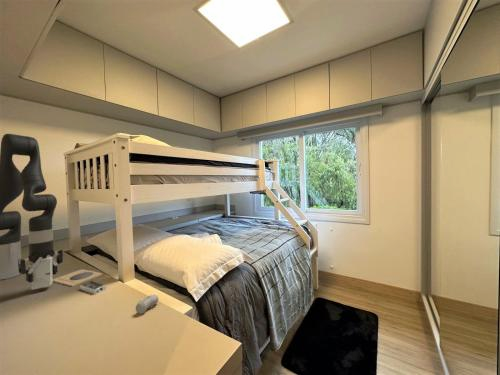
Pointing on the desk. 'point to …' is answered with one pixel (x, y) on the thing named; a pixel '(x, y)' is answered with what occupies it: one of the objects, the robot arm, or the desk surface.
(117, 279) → the desk surface
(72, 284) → the beige flat board
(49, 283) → the skincare box
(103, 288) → the multiport hub
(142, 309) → the grey rounded cylinder
